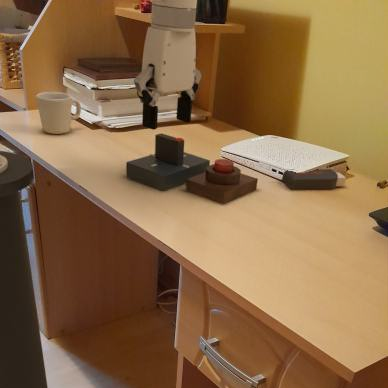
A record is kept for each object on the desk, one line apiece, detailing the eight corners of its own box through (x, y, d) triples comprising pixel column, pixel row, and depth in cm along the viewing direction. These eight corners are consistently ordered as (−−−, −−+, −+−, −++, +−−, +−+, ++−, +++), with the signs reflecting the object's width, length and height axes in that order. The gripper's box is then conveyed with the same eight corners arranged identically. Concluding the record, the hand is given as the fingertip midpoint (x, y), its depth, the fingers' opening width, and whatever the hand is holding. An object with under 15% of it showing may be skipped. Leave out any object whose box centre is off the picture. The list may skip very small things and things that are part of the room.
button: (225, 175, 96) (226, 166, 95) (210, 170, 98) (210, 161, 97) (236, 171, 99) (237, 162, 98) (221, 166, 100) (222, 157, 99)
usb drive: (281, 180, 107) (283, 167, 105) (334, 180, 109) (338, 167, 108) (290, 189, 103) (293, 176, 101) (345, 189, 105) (348, 175, 104)
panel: (164, 191, 98) (164, 174, 96) (125, 177, 103) (125, 160, 101) (209, 174, 107) (210, 159, 105) (172, 162, 112) (172, 147, 110)
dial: (154, 157, 104) (155, 133, 101) (160, 156, 105) (161, 131, 102) (177, 165, 101) (178, 140, 98) (183, 163, 102) (184, 138, 99)
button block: (223, 204, 95) (225, 182, 92) (185, 190, 99) (186, 169, 97) (256, 189, 102) (259, 169, 99) (219, 177, 106) (221, 157, 104)
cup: (72, 124, 131) (70, 89, 126) (90, 131, 126) (88, 96, 121) (33, 129, 125) (29, 93, 120) (50, 138, 120) (47, 100, 115)
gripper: (188, 16, 96) (181, 114, 106) (121, 15, 85) (120, 125, 95) (220, 22, 92) (209, 122, 103) (155, 22, 81) (150, 135, 91)
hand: (166, 124), depth 99 cm, fingers open, 9 cm apart
